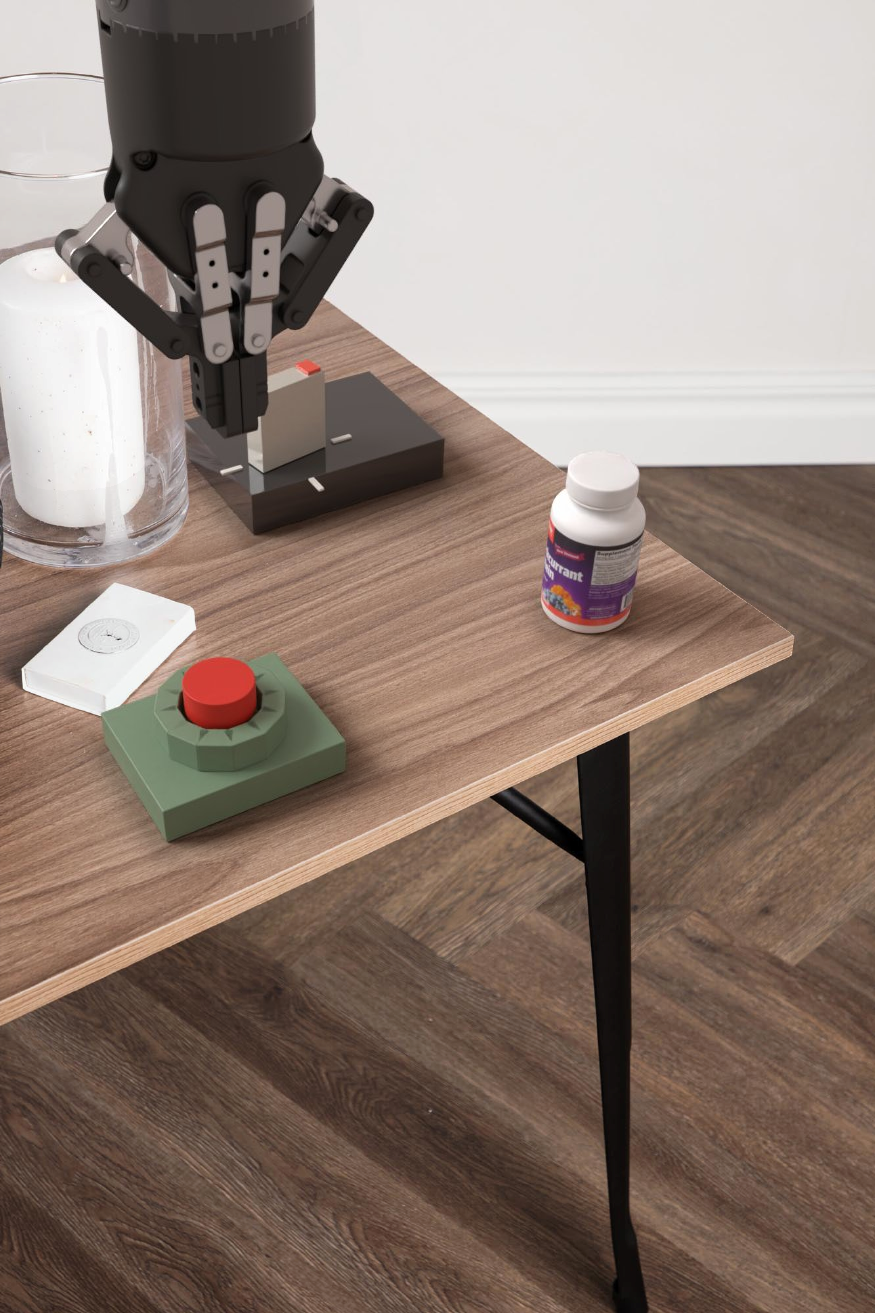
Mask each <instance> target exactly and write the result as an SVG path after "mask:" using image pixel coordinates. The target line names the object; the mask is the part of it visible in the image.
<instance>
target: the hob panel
mask: <svg viewBox="0 0 875 1313" xmlns="http://www.w3.org/2000/svg"><path fill="white" fill-rule="evenodd" d="M184 430H185V441H186V452H187V459H188V460H189V461H190V463H191V464H192V465H193V466H194V468H195V469H196V470H197V471H198V472H199V473H200V474H201V476H202V477H203V478H204V479H205V480H206V481H207V483H208V484H209V485H210V486H211V487H212V488H213V490H214V491H215V492H216V493H217V494H218V495H219V497H220V498H221V499H222V500H223V501H224V502H225V503H226V505H227V506H228V507H229V508H230V509H231V510H232V511H233V513H234V514H235V515H236V516H237V517H238V518H239V519H240V521H241V522H242V524H244V526H246V528H247V529H248V530H249V531H250V532H251V533H252V534H253V536H254V535H258V534H261V533H262V534H263V533H265V532H267V531H270V530H274V529H278V528H280V527H284V526H287V525H290V524H294V523H296V522H300V521H303V520H307V519H309V518H313V517H317V516H320V515H323V514H325V513H329V512H333V511H335V510H339V509H342V508H346V507H348V506H352V505H355V504H358V503H361V502H365V501H368V500H372V499H374V498H377V497H381V496H384V495H387V494H388V495H389V494H390V493H394V492H396V491H400V490H404V489H407V488H410V487H413V486H417V485H420V484H422V483H426V482H430V481H432V480H436V479H439V478H443V477H444V461H445V445H446V444H445V442H446V438H445V437H444V436H443V435H442V434H441V433H440V432H439V431H437V429H435V428H434V427H433V426H431V424H430V423H429V422H427V421H426V420H425V419H424V417H421V416H420V415H419V414H418V413H417V412H416V411H415V410H413V408H412V407H410V406H409V405H408V404H407V403H406V402H405V401H404V400H403V399H402V398H400V397H399V396H398V395H397V394H396V393H395V392H394V391H393V390H392V389H391V388H389V387H388V386H387V385H386V384H384V382H382V381H381V380H380V379H379V378H378V377H376V375H375V374H373V373H372V371H369V370H368V371H364V372H361V373H357V374H353V375H349V376H346V377H342V378H338V379H334V380H330V381H325V433H326V446H325V447H323V448H321V449H319V450H316V451H314V452H312V453H309V454H307V455H305V456H302V457H300V458H298V459H295V460H293V461H291V462H288V463H286V464H284V465H281V466H279V467H277V468H274V469H272V470H270V471H267V472H265V473H263V472H261V471H260V470H258V469H257V468H256V467H254V466H253V465H251V464H250V463H249V462H248V444H247V433H246V434H242V435H238V436H235V437H231V438H227V439H224V438H223V437H222V436H221V435H220V434H219V433H218V432H217V431H216V430H215V429H211V427H210V426H209V425H208V424H207V423H206V422H205V421H204V420H203V419H202V418H201V417H200V416H199V415H198V416H195V417H191V418H188V419H184Z"/></svg>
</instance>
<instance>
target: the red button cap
mask: <svg viewBox="0 0 875 1313" xmlns="http://www.w3.org/2000/svg"><path fill="white" fill-rule="evenodd" d="M237 659H238V658H232V657H226V656H215V657H210V658H206V659H203V660H200V661H197V662H195V663H196V664H195V663H193V664H194V665H193V666H192V667H190V668H189V669H188V670H187V672H186V673H185V675H184V677H183V680H182V688H183V698H184V707H185V713H186V715H187V717H188V718H189V719H190V721H192V722H193V723H194V724H196V725H197V726H199V727H202V728H205V729H230V728H233V727H236V726H239V725H241V724H244V723H245V722H247V721H248V720H249V719H250V718H251V717H252V716H253V714H254V713H255V710H256V706H257V700H256V682H255V675H254V673H253V671H252V669H251V668H250V667H249V666H248V665H247V664H245V663H243V662H241V661H239V660H237Z"/></svg>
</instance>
